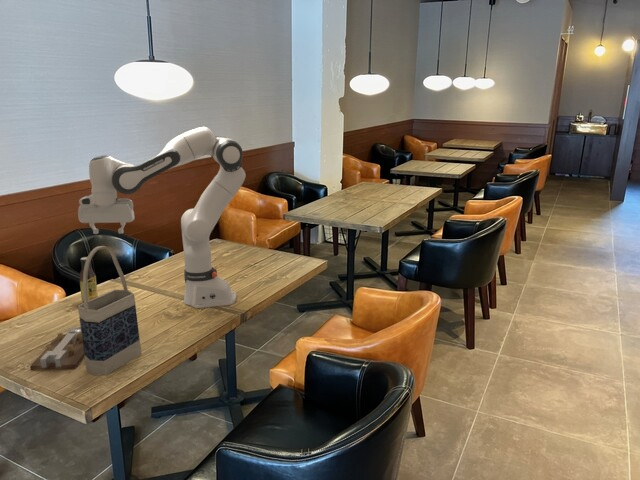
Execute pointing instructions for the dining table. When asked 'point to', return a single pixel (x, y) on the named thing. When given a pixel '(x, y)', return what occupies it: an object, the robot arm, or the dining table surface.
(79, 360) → the peg rack
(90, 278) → the sauce bottle
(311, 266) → the dining table surface
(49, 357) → the ball-tipped notched rod
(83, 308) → the bag
